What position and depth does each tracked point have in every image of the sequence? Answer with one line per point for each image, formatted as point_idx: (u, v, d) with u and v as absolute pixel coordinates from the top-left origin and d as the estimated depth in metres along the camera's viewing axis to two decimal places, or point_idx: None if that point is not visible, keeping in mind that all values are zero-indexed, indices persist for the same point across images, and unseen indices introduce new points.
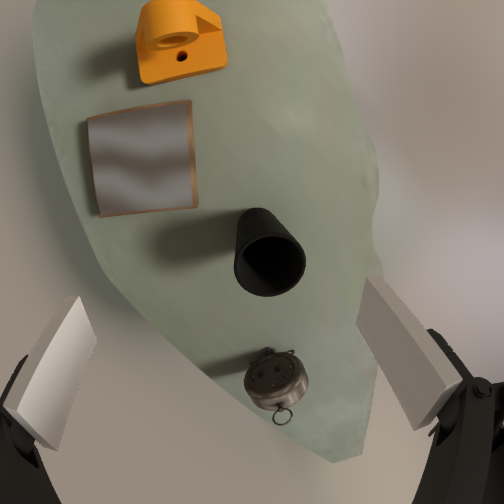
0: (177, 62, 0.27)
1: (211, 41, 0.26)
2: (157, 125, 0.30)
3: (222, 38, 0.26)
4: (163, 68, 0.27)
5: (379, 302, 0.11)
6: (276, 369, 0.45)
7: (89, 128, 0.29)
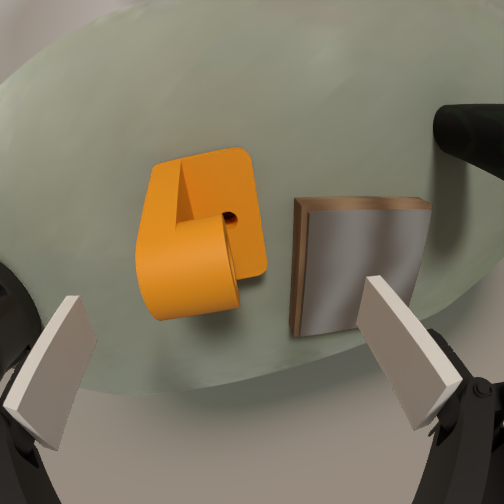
0: (238, 225, 0.22)
1: (202, 177, 0.20)
2: (333, 251, 0.24)
3: (197, 159, 0.20)
4: (246, 245, 0.23)
5: (379, 303, 0.11)
6: None
7: (310, 334, 0.28)
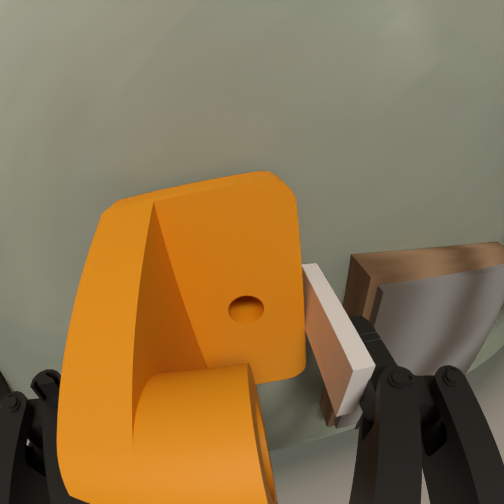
0: (265, 317, 0.12)
1: (198, 234, 0.10)
2: (403, 338, 0.14)
3: (185, 199, 0.10)
4: (276, 343, 0.13)
5: (309, 288, 0.12)
6: None
7: (349, 424, 0.18)
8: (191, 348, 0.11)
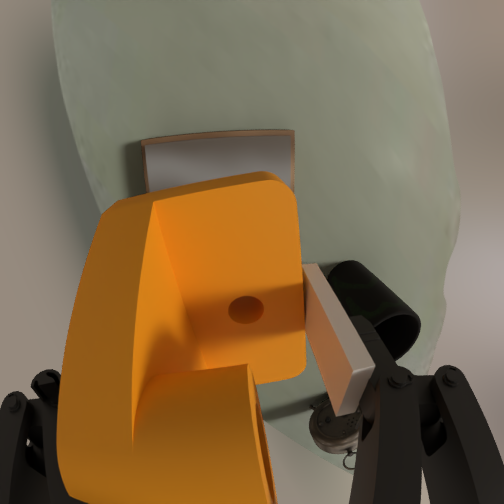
0: (265, 317, 0.12)
1: (198, 234, 0.10)
2: (251, 162, 0.24)
3: (185, 199, 0.10)
4: (276, 344, 0.13)
5: (308, 288, 0.12)
6: None
7: (147, 156, 0.23)
8: (191, 348, 0.11)
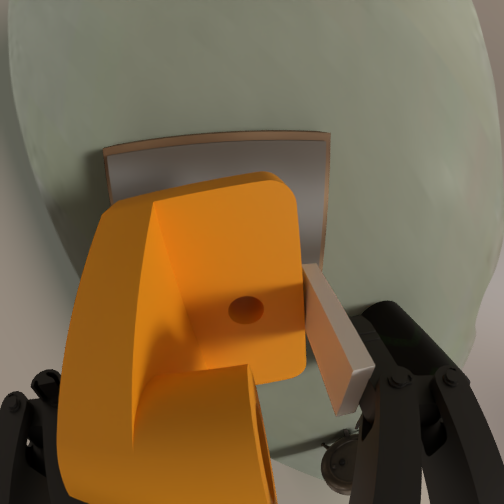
0: (265, 317, 0.12)
1: (198, 234, 0.10)
2: None
3: (185, 199, 0.10)
4: (276, 344, 0.13)
5: (308, 288, 0.12)
6: None
7: (111, 172, 0.15)
8: (191, 349, 0.11)
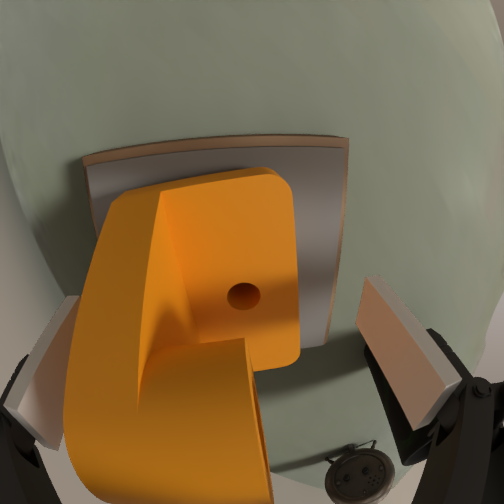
0: (261, 304, 0.13)
1: (201, 223, 0.11)
2: None
3: (190, 189, 0.11)
4: (271, 331, 0.14)
5: (378, 302, 0.11)
6: (365, 472, 0.29)
7: (92, 185, 0.12)
8: (191, 332, 0.12)
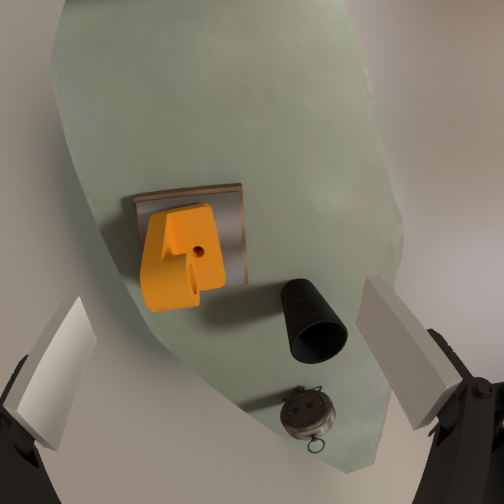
0: (205, 255, 0.34)
1: (181, 224, 0.32)
2: None
3: (177, 213, 0.32)
4: (211, 267, 0.35)
5: (379, 303, 0.11)
6: (309, 406, 0.49)
7: (138, 210, 0.34)
8: None
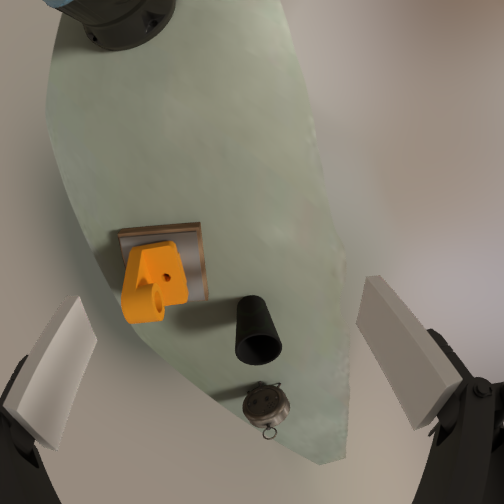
0: (171, 280, 0.44)
1: (152, 257, 0.42)
2: None
3: (149, 249, 0.41)
4: (176, 289, 0.45)
5: (379, 303, 0.11)
6: (266, 399, 0.60)
7: (121, 243, 0.43)
8: None
